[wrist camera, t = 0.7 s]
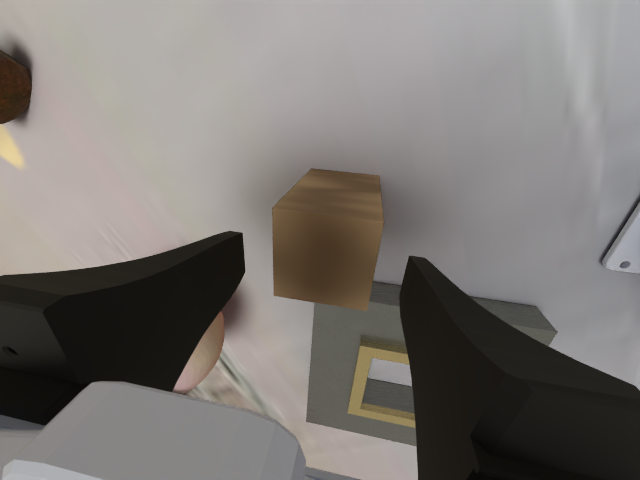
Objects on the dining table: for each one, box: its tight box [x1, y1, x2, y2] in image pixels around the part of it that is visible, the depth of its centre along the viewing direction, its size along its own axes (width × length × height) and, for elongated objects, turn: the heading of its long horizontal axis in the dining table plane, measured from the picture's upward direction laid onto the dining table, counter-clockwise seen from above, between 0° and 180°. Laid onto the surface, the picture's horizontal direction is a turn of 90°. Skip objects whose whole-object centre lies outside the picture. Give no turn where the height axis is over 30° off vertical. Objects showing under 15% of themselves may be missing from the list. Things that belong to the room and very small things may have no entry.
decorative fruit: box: [172, 311, 224, 395], centre depth 20 cm, size 9×8×10 cm
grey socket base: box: [306, 282, 557, 446], centre depth 23 cm, size 16×16×3 cm
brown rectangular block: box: [272, 169, 384, 311], centre depth 15 cm, size 4×4×8 cm
